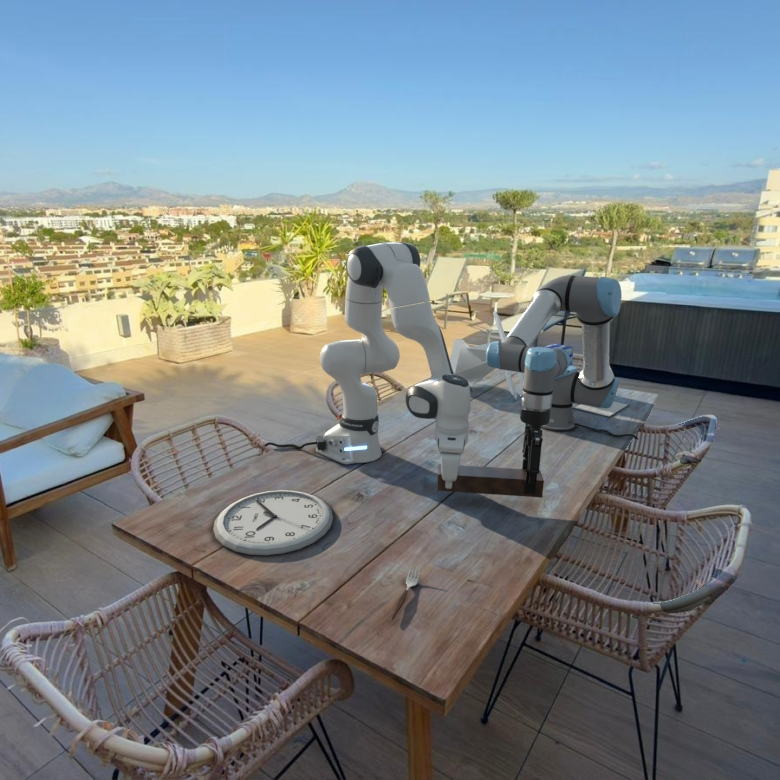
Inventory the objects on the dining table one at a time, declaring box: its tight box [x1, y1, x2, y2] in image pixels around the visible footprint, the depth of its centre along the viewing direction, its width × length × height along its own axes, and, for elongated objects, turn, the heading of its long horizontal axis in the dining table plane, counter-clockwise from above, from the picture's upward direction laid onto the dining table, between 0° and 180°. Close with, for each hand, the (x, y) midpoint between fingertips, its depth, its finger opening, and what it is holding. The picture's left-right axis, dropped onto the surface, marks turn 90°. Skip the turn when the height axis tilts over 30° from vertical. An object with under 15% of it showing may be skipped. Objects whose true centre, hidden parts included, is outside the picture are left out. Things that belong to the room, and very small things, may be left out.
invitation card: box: [573, 400, 629, 418], centre depth 226 cm, size 21×1×15 cm
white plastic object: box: [449, 310, 524, 400], centre depth 245 cm, size 37×45×31 cm
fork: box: [391, 565, 422, 620], centre depth 108 cm, size 3×16×2 cm, turn 160°
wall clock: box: [212, 489, 334, 556], centre depth 134 cm, size 30×2×30 cm
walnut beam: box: [436, 463, 545, 498], centre depth 144 cm, size 28×6×5 cm, turn 83°
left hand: (448, 480), depth 145 cm, fingers closed on walnut beam, 6 cm apart
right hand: (527, 486), depth 143 cm, fingers closed on walnut beam, 6 cm apart
